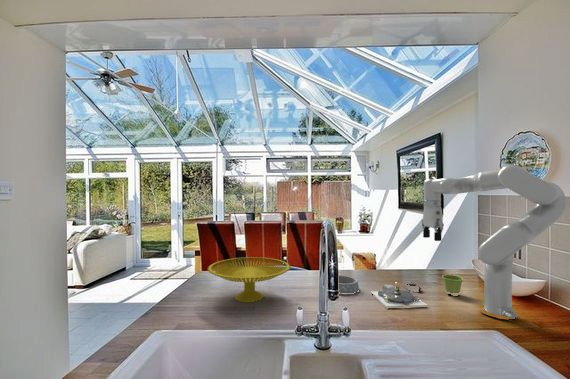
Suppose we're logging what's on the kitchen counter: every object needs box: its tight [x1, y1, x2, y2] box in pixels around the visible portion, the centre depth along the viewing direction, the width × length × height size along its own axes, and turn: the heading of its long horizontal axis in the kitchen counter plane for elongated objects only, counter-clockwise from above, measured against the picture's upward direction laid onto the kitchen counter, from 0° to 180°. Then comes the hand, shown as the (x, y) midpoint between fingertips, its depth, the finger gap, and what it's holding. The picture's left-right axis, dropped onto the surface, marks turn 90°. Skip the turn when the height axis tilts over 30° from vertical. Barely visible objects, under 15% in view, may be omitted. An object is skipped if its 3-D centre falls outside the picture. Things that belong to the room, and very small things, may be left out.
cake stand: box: [207, 256, 292, 303], centre depth 147 cm, size 40×40×15 cm
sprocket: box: [377, 281, 419, 304], centre depth 143 cm, size 18×17×6 cm
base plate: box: [370, 290, 428, 308], centre depth 143 cm, size 19×19×1 cm
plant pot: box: [441, 274, 464, 293], centre depth 151 cm, size 9×9×9 cm
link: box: [382, 284, 396, 296], centre depth 141 cm, size 4×4×4 cm
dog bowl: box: [338, 274, 360, 293], centre depth 159 cm, size 17×18×5 cm
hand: (432, 239), depth 148 cm, fingers open, 9 cm apart
